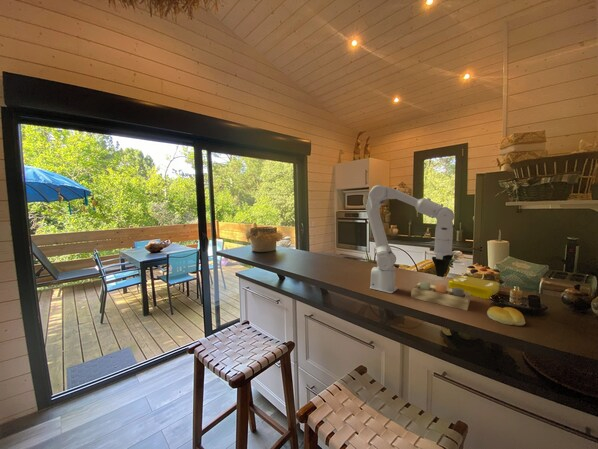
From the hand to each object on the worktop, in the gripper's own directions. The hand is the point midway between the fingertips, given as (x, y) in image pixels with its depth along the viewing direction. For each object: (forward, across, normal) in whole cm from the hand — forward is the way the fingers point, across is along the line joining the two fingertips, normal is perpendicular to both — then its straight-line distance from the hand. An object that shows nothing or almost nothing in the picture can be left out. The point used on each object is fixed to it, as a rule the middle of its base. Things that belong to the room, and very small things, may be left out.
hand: (441, 274), depth 92 cm
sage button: (+8, 0, +6) cm, 10 cm away
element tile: (+10, +20, -9) cm, 24 cm away
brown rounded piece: (+8, 0, 0) cm, 8 cm away
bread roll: (+10, -6, -19) cm, 22 cm away
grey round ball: (+8, 0, -5) cm, 10 cm away
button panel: (+9, 0, 0) cm, 9 cm away
